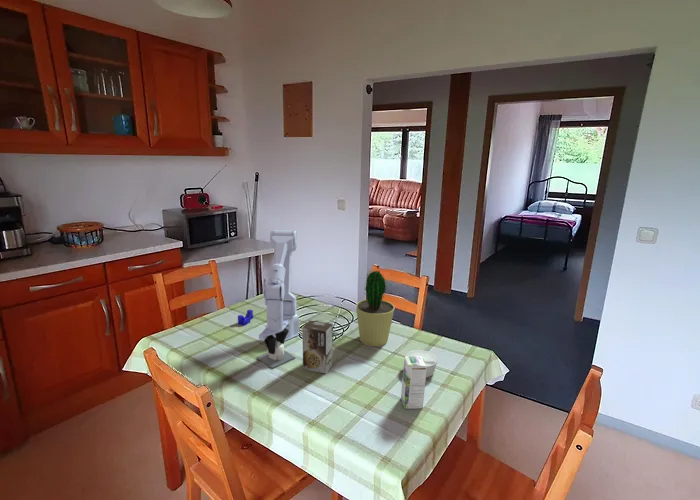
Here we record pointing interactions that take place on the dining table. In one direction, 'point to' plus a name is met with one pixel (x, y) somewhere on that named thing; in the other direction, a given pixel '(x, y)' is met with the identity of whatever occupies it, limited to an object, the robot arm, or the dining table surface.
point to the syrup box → (413, 382)
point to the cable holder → (245, 318)
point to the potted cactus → (374, 312)
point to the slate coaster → (275, 363)
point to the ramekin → (428, 358)
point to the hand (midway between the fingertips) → (275, 350)
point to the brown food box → (317, 346)
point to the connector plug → (277, 352)
